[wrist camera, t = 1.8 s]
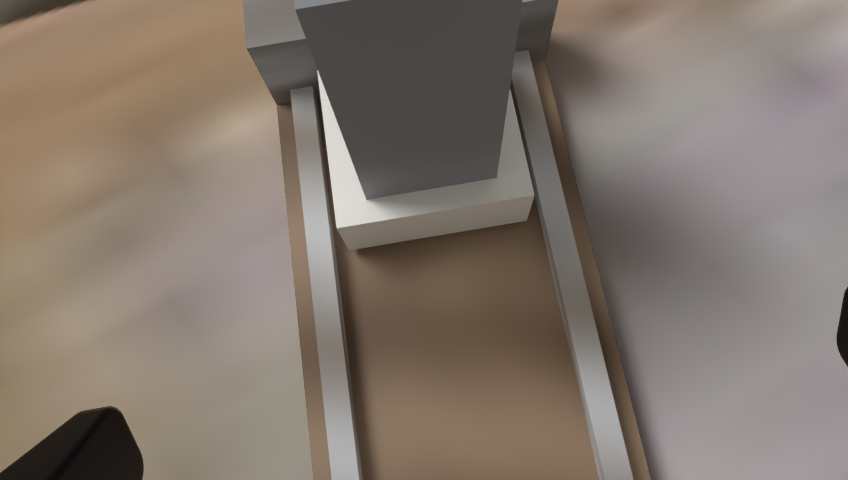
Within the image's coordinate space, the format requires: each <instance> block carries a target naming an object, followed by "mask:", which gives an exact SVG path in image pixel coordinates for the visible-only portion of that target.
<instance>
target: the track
mask: <svg viewBox="0 0 848 480" xmlns="http://www.w3.org/2000/svg"><path fill="white" fill-rule="evenodd" d="M557 4H558V0H523V1H522V8H521V15H520V22H519V29H518V36H517V42H516V49H515V56H514V63H513V70H512V77H511V84H510V90H511V94H512V99H513V103H514V107H515V112H516V116H517V121H518V125H519V129H520V134H521V138H522V142H523V147H524V151H525V155H526V160H527V164H528V169H529V173H530V177H531V182H532V186H533V190H534V195H535V196H534V199H533V202H532V205H531V209H530V212H529V215H528V218H527V221H523V222H517V223H511V224H505V225H499V226H493V227H487V228H481V229H475V230H469V231H463V232H457V233H451V234H445V235H439V236H433V237H427V238H421V239H415V240H409V241H403V242H397V243H391V244H385V245H379V246H373V247H367V248H361V249H355V250H348V248H347V246H346V244H345V242H344V241H343V239H342V237H341V235H340V234H339V232H338V230H337V228H336V220H335V212H334V204H333V195H332V187H331V179H330V171H329V163H328V155H327V147H326V139H325V130H324V122H323V114H322V106H321V98H320V90H319V82H318V73H317V70H318V69H317V67H316V64H315V61H314V59H313V56H312V53H311V51H310V48H309V45H308V43H307V40H306V37H305V35H304V32H303V29H302V27H301V24H300V21H299V19H298V16H297V13H296V11H295V5H294V0H243V9H244V21H245V32H246V44H247V50H248V51H249V53H250V55H251V57H252V59H253V61H254V63H255V65H256V66H257V68H258V70H259V72H260V74H261V76H262V78H263V80H264V81H265V83H266V85H267V87H268V89H269V91H270V93H271V95H272V97H273V98H274V100H275V102H276V104H277V112H278V123H279V133H280V143H281V153H282V163H283V173H284V184H285V194H286V204H287V214H288V224H289V234H290V245H291V255H292V265H293V275H294V285H295V295H296V305H297V316H298V326H299V336H300V346H301V356H302V366H303V377H304V387H305V397H306V407H307V417H308V427H309V438H310V448H311V458H312V468H313V478H314V480H651V478H650V474H649V470H648V466H647V462H646V458H645V454H644V450H643V446H642V442H641V438H640V434H639V430H638V426H637V422H636V418H635V414H634V411H633V407H632V403H631V399H630V395H629V391H628V387H627V383H626V379H625V375H624V371H623V367H622V363H621V359H620V355H619V351H618V347H617V343H616V339H615V335H614V331H613V327H612V323H611V319H610V315H609V311H608V308H607V304H606V300H605V296H604V292H603V288H602V284H601V280H600V276H599V272H598V268H597V264H596V260H595V256H594V252H593V248H592V244H591V240H590V236H589V232H588V228H587V224H586V220H585V216H584V212H583V208H582V205H581V201H580V197H579V193H578V189H577V185H576V181H575V177H574V173H573V169H572V165H571V161H570V157H569V153H568V149H567V145H566V141H565V137H564V133H563V129H562V125H561V121H560V117H559V113H558V109H557V105H556V102H555V98H554V94H553V90H552V86H551V82H550V78H549V74H548V70H547V66H546V62H545V57H546V53H547V48H548V44H549V39H550V35H551V31H552V26H553V22H554V17H555V13H556V8H557Z"/></svg>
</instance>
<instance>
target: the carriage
mask: <svg viewBox="0 0 848 480" xmlns="http://www.w3.org/2000/svg"><path fill="white" fill-rule="evenodd" d="M522 1H523V0H294V5H295V11H296V13H297V16H298V19H299V21H300V24H301V27H302V29H303V32H304V35H305V37H306V40H307V43H308V45H309V48H310V51H311V53H312V56H313V59H314V61H315V64H316V67H317V69H318V70H317V73H318V82H319V90H320V98H321V106H322V114H323V122H324V130H325V139H326V147H327V155H328V163H329V171H330V179H331V187H332V195H333V204H334V212H335V220H336V228H337V230H338V232H339V234H340V235H341V237H342V239H343V241H344V242H345V244H346V246H347V248H348V250H355V249H361V248H367V247H373V246H379V245H385V244H391V243H397V242H403V241H409V240H415V239H421V238H427V237H433V236H439V235H445V234H451V233H457V232H463V231H469V230H475V229H481V228H487V227H493V226H499V225H505V224H511V223H517V222H523V221H527V218H528V215H529V212H530V209H531V205H532V202H533V199H534V196H535V195H534V190H533V186H532V182H531V177H530V173H529V169H528V164H527V160H526V155H525V151H524V147H523V142H522V138H521V134H520V129H519V125H518V121H517V116H516V112H515V107H514V103H513V99H512V94H511V90H510V84H511V77H512V70H513V63H514V56H515V49H516V42H517V36H518V29H519V22H520V15H521V8H522Z"/></svg>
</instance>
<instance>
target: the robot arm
mask: <svg viewBox="0 0 848 480" xmlns="http://www.w3.org/2000/svg"><path fill="white" fill-rule="evenodd" d="M837 346H838V350H839V352H840V355H841V357H842V359H843V360H844V362H845V363H846V365H847V366H848V287H847V289H846V290H845V293H844V298H843V303H842V309H841V314H840V320H839V325H838V331H837ZM143 468H144V466H143V458H142V455H141V452H140V450H139V448H138V446H137V443H136V441H135V439H134V437H133V435H132V433H131V431H130V429H129V427H128V425H127V423H126V420H125V418H124V416H123V415H122V413H121V411H119V410H118V409H117V408H115V407H112V406H108V407H102V408H96V409H90V410H85V411H81V412H79V413H77V414H76V415H74V416H73V417H72V418H71V419H69V420H68V421H67V422H65V423H64V424H63V425H62V426H60V427H59V428H58V429H56V430H55V431H54V432H52V433H51V434H50V435H49V436H47V437H46V438H45V439H43V440H42V441H41V442H40V443H38V444H37V445H36V446H34V447H33V448H32V449H31V450H29V451H28V452H27V453H25V454H24V455H23V456H21V457H20V458H19V459H18V460H16V461H15V462H14V463H12V464H11V465H10V466H9V467H7V468H6V469H5V470H3V471H2V472H1V473H0V480H142V478H143Z"/></svg>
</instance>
